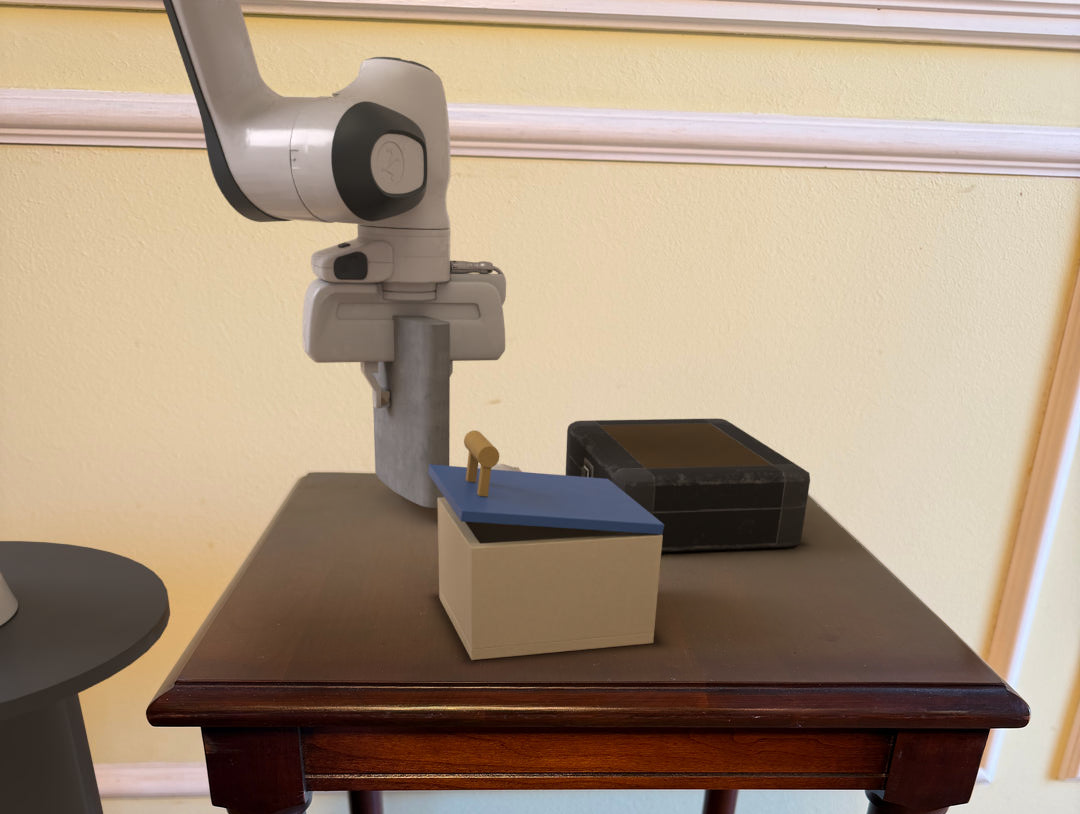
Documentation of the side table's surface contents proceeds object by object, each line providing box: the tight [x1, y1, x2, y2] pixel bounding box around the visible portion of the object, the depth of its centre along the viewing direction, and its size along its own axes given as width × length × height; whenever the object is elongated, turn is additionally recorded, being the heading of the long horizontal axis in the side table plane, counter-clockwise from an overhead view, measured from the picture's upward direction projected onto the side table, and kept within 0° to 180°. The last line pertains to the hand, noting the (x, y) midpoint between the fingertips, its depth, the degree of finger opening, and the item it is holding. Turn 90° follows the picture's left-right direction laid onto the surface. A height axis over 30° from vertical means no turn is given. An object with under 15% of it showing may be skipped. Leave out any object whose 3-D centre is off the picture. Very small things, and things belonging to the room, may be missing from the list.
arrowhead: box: [478, 463, 523, 472], centre depth 121 cm, size 7×2×10 cm
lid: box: [428, 430, 664, 534], centre depth 79 cm, size 16×13×5 cm
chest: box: [437, 497, 663, 661], centre depth 83 cm, size 15×13×9 cm
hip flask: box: [372, 316, 451, 509], centre depth 105 cm, size 16×4×20 cm, turn 28°
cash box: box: [565, 418, 811, 554], centre depth 109 cm, size 25×20×8 cm
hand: (407, 406), depth 105 cm, fingers closed on hip flask, 4 cm apart
